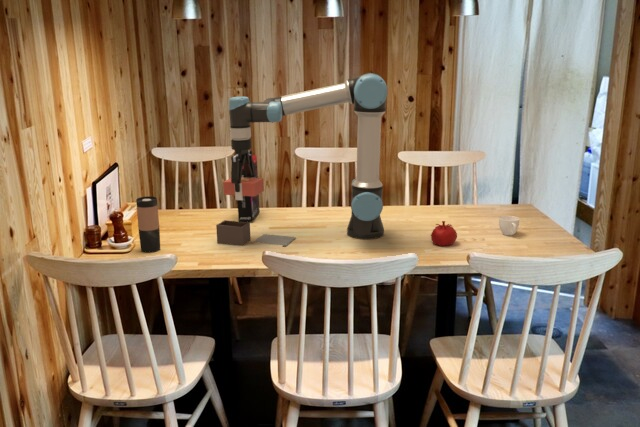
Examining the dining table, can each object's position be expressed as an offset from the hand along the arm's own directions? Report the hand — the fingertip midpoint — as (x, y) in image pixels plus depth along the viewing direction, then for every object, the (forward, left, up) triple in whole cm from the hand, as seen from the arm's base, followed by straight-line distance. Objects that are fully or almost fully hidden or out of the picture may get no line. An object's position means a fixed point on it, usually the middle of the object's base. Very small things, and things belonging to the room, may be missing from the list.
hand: (244, 196), depth 241 cm
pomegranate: (-74, -22, -19) cm, 79 cm away
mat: (-10, -5, -19) cm, 22 cm away
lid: (0, 0, +2) cm, 2 cm away
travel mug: (+31, +19, -19) cm, 41 cm away
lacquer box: (+4, +2, -19) cm, 19 cm away
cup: (-98, -41, -19) cm, 108 cm away
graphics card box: (+14, -33, -19) cm, 41 cm away
